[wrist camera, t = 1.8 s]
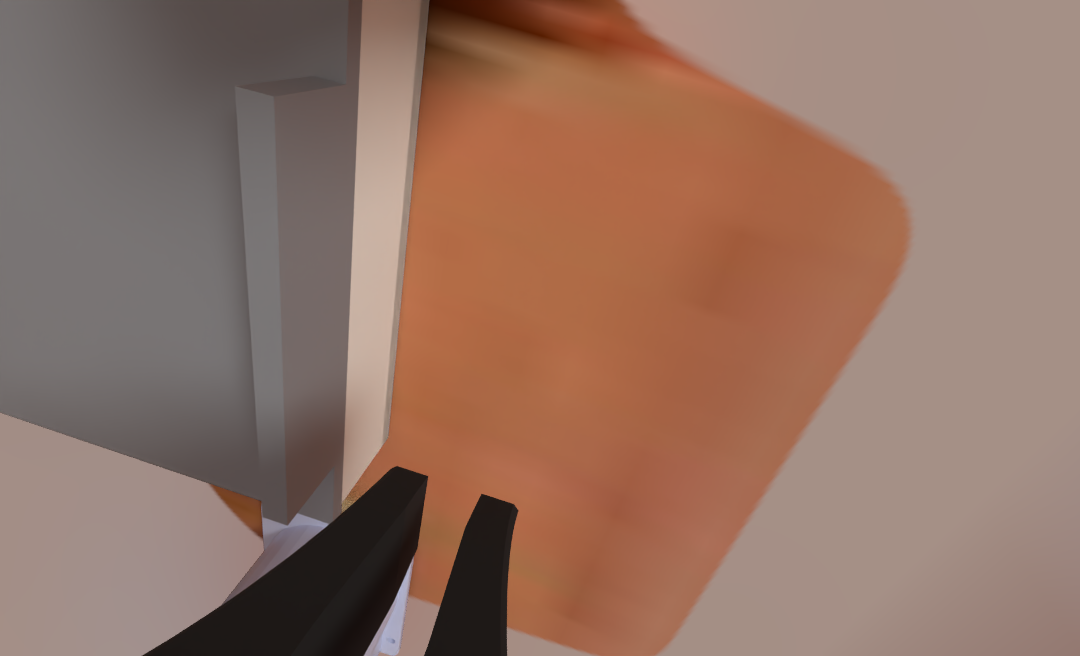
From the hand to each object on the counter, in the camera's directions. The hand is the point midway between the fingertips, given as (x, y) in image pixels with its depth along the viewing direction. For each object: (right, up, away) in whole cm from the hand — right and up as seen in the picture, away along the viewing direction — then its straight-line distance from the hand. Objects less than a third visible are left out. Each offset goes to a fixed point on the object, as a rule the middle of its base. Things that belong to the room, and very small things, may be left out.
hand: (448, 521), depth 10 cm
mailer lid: (-11, +6, +6) cm, 14 cm away
